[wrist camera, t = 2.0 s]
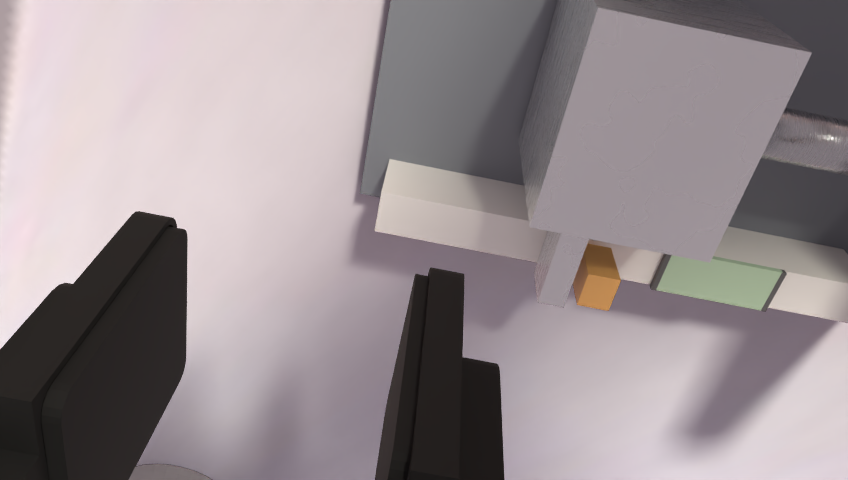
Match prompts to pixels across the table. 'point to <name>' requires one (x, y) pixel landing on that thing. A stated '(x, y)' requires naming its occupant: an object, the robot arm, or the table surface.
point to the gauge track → (502, 170)
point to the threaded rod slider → (658, 127)
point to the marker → (596, 278)
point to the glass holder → (165, 473)
